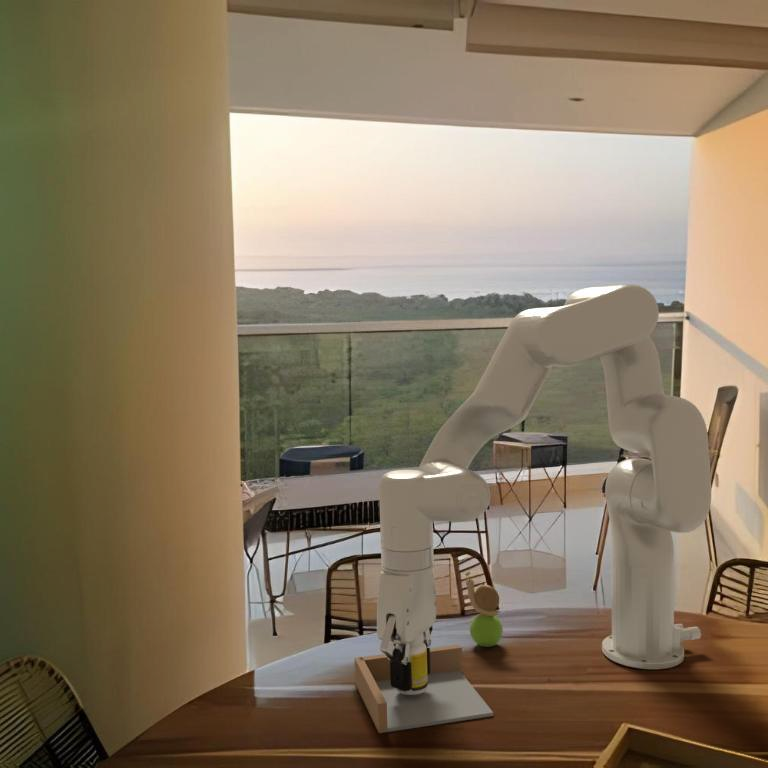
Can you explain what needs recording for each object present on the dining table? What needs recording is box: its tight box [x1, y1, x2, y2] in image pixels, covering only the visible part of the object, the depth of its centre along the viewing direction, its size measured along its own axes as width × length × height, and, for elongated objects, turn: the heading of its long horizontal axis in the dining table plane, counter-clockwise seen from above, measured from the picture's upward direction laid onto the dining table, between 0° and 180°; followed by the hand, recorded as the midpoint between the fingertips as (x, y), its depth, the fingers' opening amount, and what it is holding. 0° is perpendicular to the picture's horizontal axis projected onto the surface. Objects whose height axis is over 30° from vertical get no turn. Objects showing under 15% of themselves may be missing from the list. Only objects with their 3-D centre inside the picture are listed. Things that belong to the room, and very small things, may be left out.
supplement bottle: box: [396, 633, 428, 695], centre depth 114 cm, size 5×5×8 cm
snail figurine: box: [464, 571, 504, 648], centre depth 132 cm, size 5×6×12 cm
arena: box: [354, 644, 494, 734], centre depth 114 cm, size 17×15×4 cm
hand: (410, 679), depth 115 cm, fingers closed on supplement bottle, 4 cm apart
